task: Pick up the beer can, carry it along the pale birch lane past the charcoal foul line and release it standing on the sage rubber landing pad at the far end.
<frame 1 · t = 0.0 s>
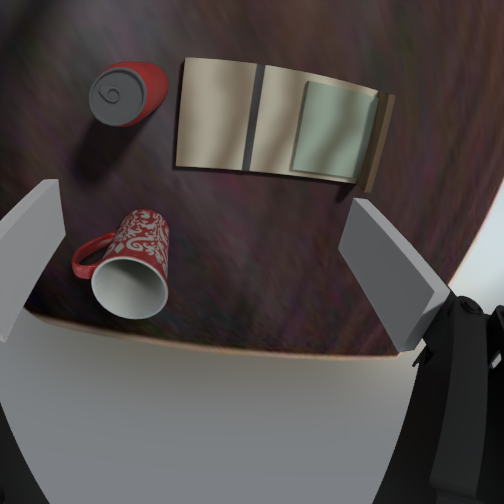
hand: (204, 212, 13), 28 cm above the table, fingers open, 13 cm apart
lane: (282, 121, 38), on the table
mug: (134, 227, 44), on the table
beer can: (143, 87, 33), on the table
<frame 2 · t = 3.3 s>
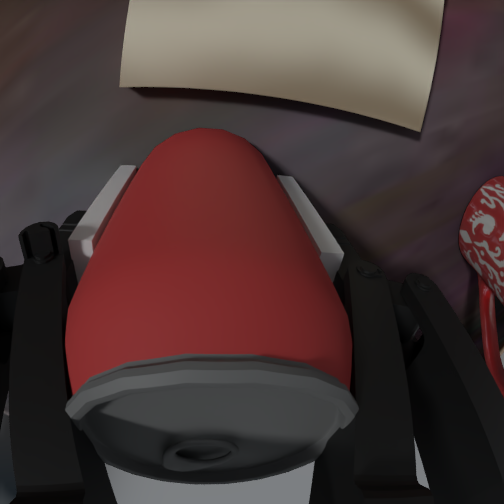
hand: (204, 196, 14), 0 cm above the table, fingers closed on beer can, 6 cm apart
mug: (477, 236, 19), on the table
beer can: (204, 190, 15), on the table, touching gripper
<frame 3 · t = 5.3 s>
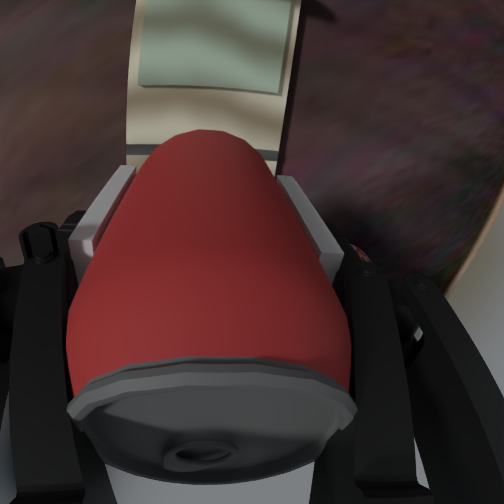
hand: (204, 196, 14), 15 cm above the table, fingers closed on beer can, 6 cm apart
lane: (205, 106, 26), on the table
beer can: (204, 191, 15), point 15 cm above the table, touching gripper
when the fingers open (4 cm above the table, at t = 7.4 s): beer can drops 2 cm, resting on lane.
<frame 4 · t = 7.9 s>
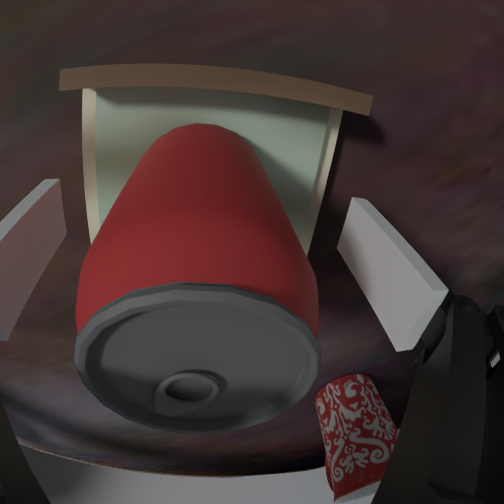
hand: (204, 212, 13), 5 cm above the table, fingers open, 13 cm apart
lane: (197, 269, 21), on the table
mug: (335, 396, 35), on the table
beer can: (199, 180, 16), point 1 cm above the table, touching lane
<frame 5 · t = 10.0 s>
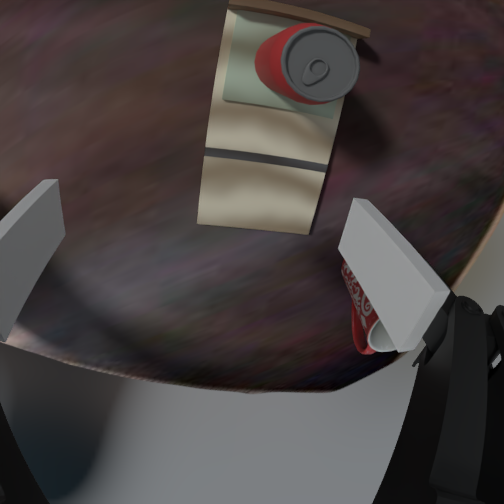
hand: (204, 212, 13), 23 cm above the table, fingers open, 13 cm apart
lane: (273, 123, 32), on the table
mug: (356, 271, 46), on the table
beer can: (285, 63, 28), point 1 cm above the table, touching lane
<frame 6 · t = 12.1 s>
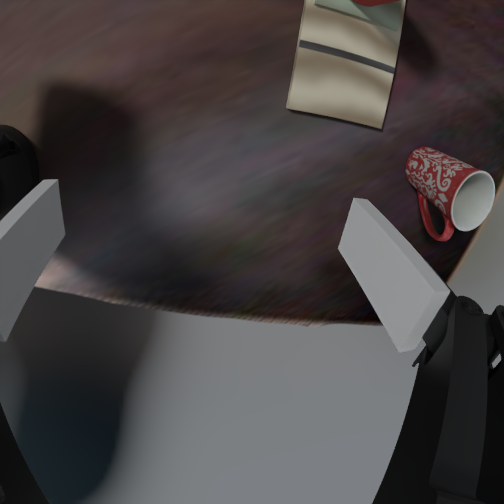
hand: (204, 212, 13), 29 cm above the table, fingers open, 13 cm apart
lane: (351, 30, 32), on the table
mug: (417, 175, 45), on the table
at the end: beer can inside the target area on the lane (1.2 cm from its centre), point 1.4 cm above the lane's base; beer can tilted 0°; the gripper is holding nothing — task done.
